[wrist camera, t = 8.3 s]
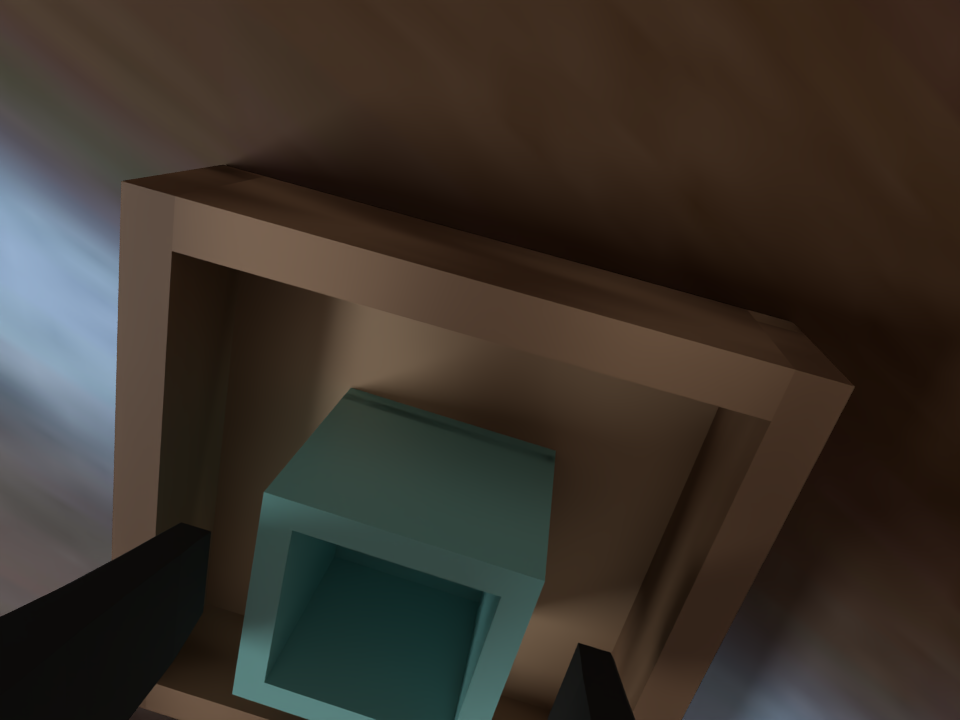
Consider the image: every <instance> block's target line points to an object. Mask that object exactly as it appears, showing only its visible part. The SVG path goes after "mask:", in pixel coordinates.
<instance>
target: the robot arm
mask: <svg viewBox="0 0 960 720" xmlns="http://www.w3.org/2000/svg"><path fill="white" fill-rule="evenodd" d="M210 539H211V531H208V530H205V529H202V528H198V527H195V526H192V525H189V524H185V523H182V522H181V523H179V524H177V525H175V526H173V527H171V528H170V529H168V530H166V531H164V532H162V533H160V534H159V535H157V536H155V537H153V538H151V539H150V540H148V541H146V542H144V543H142V544H141V545H139V546H137V547H135V548H133V549H132V550H130V551H128V552H126V553H124V554H123V555H121V556H119V557H117V558H115V559H114V560H112V561H110V562H108V563H106V564H104V565H103V566H101V567H99V568H97V569H95V570H93V571H91V572H89V573H88V574H86V575H84V576H82V577H80V578H78V579H76V580H74V581H73V582H71V583H69V584H67V585H65V586H63V587H61V588H59V589H57V590H55V591H53V592H51V593H49V594H47V595H45V596H43V597H41V598H38V599H36V600H34V601H32V602H30V603H28V604H26V605H24V606H22V607H20V608H18V609H16V610H14V611H12V612H10V613H7V614H5V615H3V616H1V617H0V720H129V718H130V717H131V716H132V715H133V713H134V712H135V711H136V709H137V708H138V707H139V706H140V704H141V703H142V702H143V700H144V699H145V698H146V697H147V695H148V694H149V693H150V691H151V690H152V689H153V687H154V686H155V685H156V684H157V682H158V681H159V680H160V678H161V677H162V676H163V674H164V673H165V672H166V670H167V669H168V668H169V666H170V665H171V664H172V663H173V661H174V659H175V658H176V656H177V655H178V653H179V651H180V650H181V648H182V647H183V645H184V643H185V642H186V640H187V639H188V637H189V635H190V634H191V632H192V630H193V628H194V627H195V625H196V623H197V622H198V620H199V618H200V617H201V615H202V613H203V608H204V598H205V588H206V579H207V569H208V559H209V549H210ZM547 720H635V717H634V714H633V712H632V709H631V707H630V704H629V701H628V698H627V696H626V693H625V690H624V687H623V684H622V681H621V678H620V675H619V673H618V670H617V667H616V664H615V660H614V658H613V656H612V654H611V653H610V652H608V651H604V650H601V649H598V648H595V647H591V646H588V645H585V644H581V643H578V644H577V647H576V649H575V652H574V654H573V657H572V659H571V662H570V664H569V667H568V669H567V672H566V674H565V677H564V679H563V682H562V684H561V687H560V689H559V692H558V694H557V696H556V699H555V701H554V704H553V706H552V709H551V711H550V714H549V716H548V719H547Z"/></svg>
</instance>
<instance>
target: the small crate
mask: <svg viewBox="0 0 960 720" xmlns="http://www.w3.org/2000/svg"><path fill="white" fill-rule="evenodd" d="M555 454H556V451H555V450H551V449H548V448H545V447H542V446H539V445H535V444H532V443H529V442H526V441H522V440H519V439H516V438H513V437H509V436H506V435H503V434H500V433H496V432H493V431H490V430H487V429H483V428H480V427H477V426H474V425H471V424H467V423H464V422H461V421H458V420H454V419H451V418H448V417H445V416H441V415H438V414H435V413H432V412H428V411H425V410H422V409H419V408H415V407H412V406H409V405H406V404H403V403H399V402H396V401H393V400H390V399H386V398H383V397H380V396H377V395H373V394H370V393H367V392H364V391H360V390H357V389H354V388H350V389H349V390H348V391H347V393H346V394H345V395H344V396H343V397H342V399H341V400H340V401H339V402H338V403H337V405H336V406H335V407H334V408H333V409H332V411H331V412H330V413H329V414H328V415H327V417H326V418H325V419H324V420H323V421H322V423H321V424H320V425H319V426H318V428H317V429H316V430H315V431H314V432H313V434H312V435H311V436H310V437H309V438H308V440H307V441H306V442H305V443H304V444H303V446H302V447H301V448H300V449H299V450H298V452H297V453H296V454H295V455H294V456H293V458H292V459H291V460H290V461H289V462H288V464H287V465H286V466H285V467H284V468H283V470H282V471H281V472H280V473H279V474H278V476H277V477H276V478H275V479H274V480H273V482H272V483H271V484H270V485H269V486H268V488H267V489H266V490H265V491H264V494H263V500H262V507H261V513H260V519H259V526H258V532H257V539H256V545H255V551H254V558H253V564H252V571H251V577H250V583H249V590H248V596H247V602H246V609H245V615H244V622H243V628H242V634H241V641H240V647H239V654H238V660H237V666H236V673H235V679H234V686H233V692H232V694H233V695H236V696H239V697H242V698H245V699H248V700H251V701H254V702H257V703H260V704H263V705H266V706H269V707H272V708H275V709H278V710H281V711H284V712H287V713H290V714H293V715H296V716H299V717H302V718H305V719H308V720H492V717H493V714H494V712H495V709H496V707H497V704H498V701H499V699H500V696H501V694H502V691H503V689H504V686H505V683H506V681H507V678H508V676H509V673H510V670H511V668H512V665H513V663H514V660H515V657H516V655H517V652H518V650H519V647H520V644H521V642H522V639H523V637H524V634H525V632H526V629H527V626H528V624H529V621H530V619H531V616H532V613H533V611H534V608H535V606H536V603H537V600H538V598H539V595H540V593H541V590H542V587H543V585H544V582H545V574H546V562H547V550H548V538H549V526H550V514H551V502H552V490H553V478H554V466H555Z"/></svg>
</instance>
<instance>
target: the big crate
mask: <svg viewBox="0 0 960 720" xmlns="http://www.w3.org/2000/svg"><path fill="white" fill-rule="evenodd" d="M350 388H354V389H357V390H360V391H364V392H367V393H370V394H373V395H377V396H380V397H383V398H386V399H390V400H393V401H396V402H399V403H403V404H406V405H409V406H412V407H415V408H419V409H422V410H425V411H428V412H432V413H435V414H438V415H441V416H445V417H448V418H451V419H454V420H458V421H461V422H464V423H467V424H471V425H474V426H477V427H480V428H483V429H487V430H490V431H493V432H496V433H500V434H503V435H506V436H509V437H513V438H516V439H519V440H522V441H526V442H529V443H532V444H535V445H539V446H542V447H545V448H548V449H551V450H555V451H556V454H555V466H554V478H553V490H552V502H551V514H550V526H549V538H548V550H547V562H546V574H545V582H544V585H543V587H542V590H541V593H540V595H539V598H538V600H537V603H536V606H535V608H534V611H533V613H532V616H531V619H530V621H529V624H528V626H527V629H526V632H525V634H524V637H523V639H522V642H521V644H520V647H519V650H518V652H517V655H516V657H515V660H514V663H513V665H512V668H511V670H510V673H509V676H508V678H507V681H506V683H505V686H504V689H503V691H502V694H501V696H500V699H499V701H498V704H497V707H496V709H495V712H494V714H493V717H492V720H547V719H548V716H549V714H550V711H551V709H552V706H553V704H554V701H555V699H556V696H557V694H558V692H559V689H560V687H561V684H562V682H563V679H564V677H565V674H566V672H567V669H568V667H569V664H570V662H571V659H572V657H573V654H574V652H575V649H576V647H577V644H578V643H581V644H585V645H588V646H591V647H595V648H598V649H601V650H604V651H608V652H610V653H611V654H612V656H613V658H614V660H615V664H616V667H617V670H618V673H619V675H620V678H621V681H622V684H623V687H624V690H625V693H626V696H627V698H628V701H629V704H630V707H631V709H632V712H633V714H634V717H635V720H682V718H683V716H684V714H685V712H686V710H687V708H688V706H689V704H690V703H691V701H692V699H693V697H694V695H695V693H696V691H697V689H698V687H699V685H700V683H701V681H702V679H703V678H704V676H705V674H706V672H707V670H708V668H709V666H710V664H711V662H712V660H713V658H714V656H715V654H716V653H717V651H718V649H719V647H720V645H721V643H722V641H723V639H724V637H725V635H726V633H727V631H728V630H729V628H730V626H731V624H732V622H733V620H734V618H735V616H736V614H737V612H738V610H739V608H740V606H741V605H742V603H743V601H744V599H745V597H746V595H747V593H748V591H749V589H750V587H751V585H752V583H753V582H754V580H755V578H756V576H757V574H758V572H759V570H760V568H761V566H762V564H763V562H764V560H765V558H766V557H767V555H768V553H769V551H770V549H771V547H772V545H773V543H774V541H775V539H776V537H777V535H778V534H779V532H780V530H781V528H782V526H783V524H784V522H785V520H786V518H787V516H788V514H789V512H790V510H791V509H792V507H793V505H794V503H795V501H796V499H797V497H798V495H799V493H800V491H801V489H802V487H803V486H804V484H805V482H806V480H807V478H808V476H809V474H810V472H811V470H812V468H813V466H814V464H815V462H816V461H817V459H818V457H819V455H820V453H821V451H822V449H823V447H824V445H825V443H826V441H827V439H828V438H829V436H830V434H831V432H832V430H833V428H834V426H835V424H836V422H837V420H838V418H839V416H840V414H841V413H842V411H843V409H844V407H845V405H846V403H847V401H848V399H849V397H850V395H851V393H852V391H853V390H854V388H855V386H854V385H853V384H852V383H851V382H850V381H849V380H848V379H847V378H846V377H845V376H844V375H843V374H842V373H841V371H840V370H839V369H838V368H837V367H836V366H835V365H834V364H833V363H832V362H831V361H830V360H829V359H828V358H827V357H826V356H825V355H824V354H823V353H822V352H821V351H820V350H819V349H818V348H817V347H816V346H815V345H814V344H813V343H812V342H811V340H810V339H809V338H808V337H807V336H806V335H805V334H804V333H803V332H802V331H801V330H800V329H799V328H798V327H797V326H796V325H795V324H794V323H793V322H790V321H786V320H783V319H779V318H776V317H772V316H768V315H765V314H761V313H758V312H754V311H750V310H747V309H743V308H739V307H736V306H732V305H729V304H725V303H721V302H718V301H714V300H711V299H707V298H703V297H700V296H696V295H692V294H689V293H685V292H682V291H678V290H674V289H671V288H667V287H664V286H660V285H656V284H653V283H649V282H645V281H642V280H638V279H635V278H631V277H627V276H624V275H620V274H617V273H613V272H609V271H606V270H602V269H598V268H595V267H591V266H588V265H584V264H580V263H577V262H573V261H570V260H566V259H562V258H559V257H555V256H551V255H548V254H544V253H541V252H537V251H533V250H530V249H526V248H523V247H519V246H515V245H512V244H508V243H504V242H501V241H497V240H494V239H490V238H486V237H483V236H479V235H476V234H472V233H468V232H465V231H461V230H457V229H454V228H450V227H447V226H443V225H439V224H436V223H432V222H429V221H425V220H421V219H418V218H414V217H410V216H407V215H403V214H400V213H396V212H392V211H389V210H385V209H382V208H378V207H374V206H371V205H367V204H363V203H360V202H356V201H353V200H349V199H345V198H342V197H338V196H335V195H331V194H327V193H324V192H320V191H316V190H313V189H309V188H306V187H302V186H298V185H295V184H291V183H288V182H284V181H280V180H277V179H273V178H269V177H266V176H262V175H259V174H255V173H251V172H248V171H244V170H241V169H237V168H233V167H230V166H226V165H219V166H213V167H206V168H200V169H194V170H188V171H181V172H175V173H169V174H163V175H156V176H150V177H144V178H138V179H131V180H125V181H121V216H120V255H119V294H118V333H117V372H116V411H115V450H114V489H113V528H112V560H114V559H115V558H117V557H119V556H121V555H123V554H124V553H126V552H128V551H130V550H132V549H133V548H135V547H137V546H139V545H141V544H142V543H144V542H146V541H148V540H150V539H151V538H153V537H155V536H157V535H159V534H160V533H162V532H164V531H166V530H168V529H170V528H171V527H173V526H175V525H177V524H179V523H181V522H182V523H185V524H189V525H192V526H195V527H198V528H202V529H205V530H208V531H211V539H210V549H209V559H208V569H207V579H206V588H205V598H204V608H203V613H202V615H201V617H200V618H199V620H198V622H197V623H196V625H195V627H194V628H193V630H192V632H191V634H190V635H189V637H188V639H187V640H186V642H185V643H184V645H183V647H182V648H181V650H180V651H179V653H178V655H177V656H176V658H175V659H174V661H173V663H172V664H171V665H170V666H169V668H168V669H167V670H166V672H165V673H164V674H163V676H162V677H161V678H160V680H159V681H158V682H157V684H156V685H155V686H154V687H153V689H152V690H151V691H150V693H149V694H148V695H147V697H146V698H145V699H144V700H143V702H142V703H141V704H140V706H139V707H141V708H144V709H147V710H150V711H153V712H156V713H159V714H162V715H166V716H169V717H172V718H175V719H178V720H308V719H305V718H302V717H299V716H296V715H293V714H290V713H287V712H284V711H281V710H278V709H275V708H272V707H269V706H266V705H263V704H260V703H257V702H254V701H251V700H248V699H245V698H242V697H239V696H236V695H233V694H232V692H233V686H234V679H235V673H236V666H237V660H238V654H239V647H240V641H241V634H242V628H243V622H244V615H245V609H246V602H247V596H248V590H249V583H250V577H251V571H252V564H253V558H254V551H255V545H256V539H257V532H258V526H259V519H260V513H261V507H262V500H263V494H264V491H265V490H266V489H267V488H268V486H269V485H270V484H271V483H272V482H273V480H274V479H275V478H276V477H277V476H278V474H279V473H280V472H281V471H282V470H283V468H284V467H285V466H286V465H287V464H288V462H289V461H290V460H291V459H292V458H293V456H294V455H295V454H296V453H297V452H298V450H299V449H300V448H301V447H302V446H303V444H304V443H305V442H306V441H307V440H308V438H309V437H310V436H311V435H312V434H313V432H314V431H315V430H316V429H317V428H318V426H319V425H320V424H321V423H322V421H323V420H324V419H325V418H326V417H327V415H328V414H329V413H330V412H331V411H332V409H333V408H334V407H335V406H336V405H337V403H338V402H339V401H340V400H341V399H342V397H343V396H344V395H345V394H346V393H347V391H348V390H349V389H350Z"/></svg>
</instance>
